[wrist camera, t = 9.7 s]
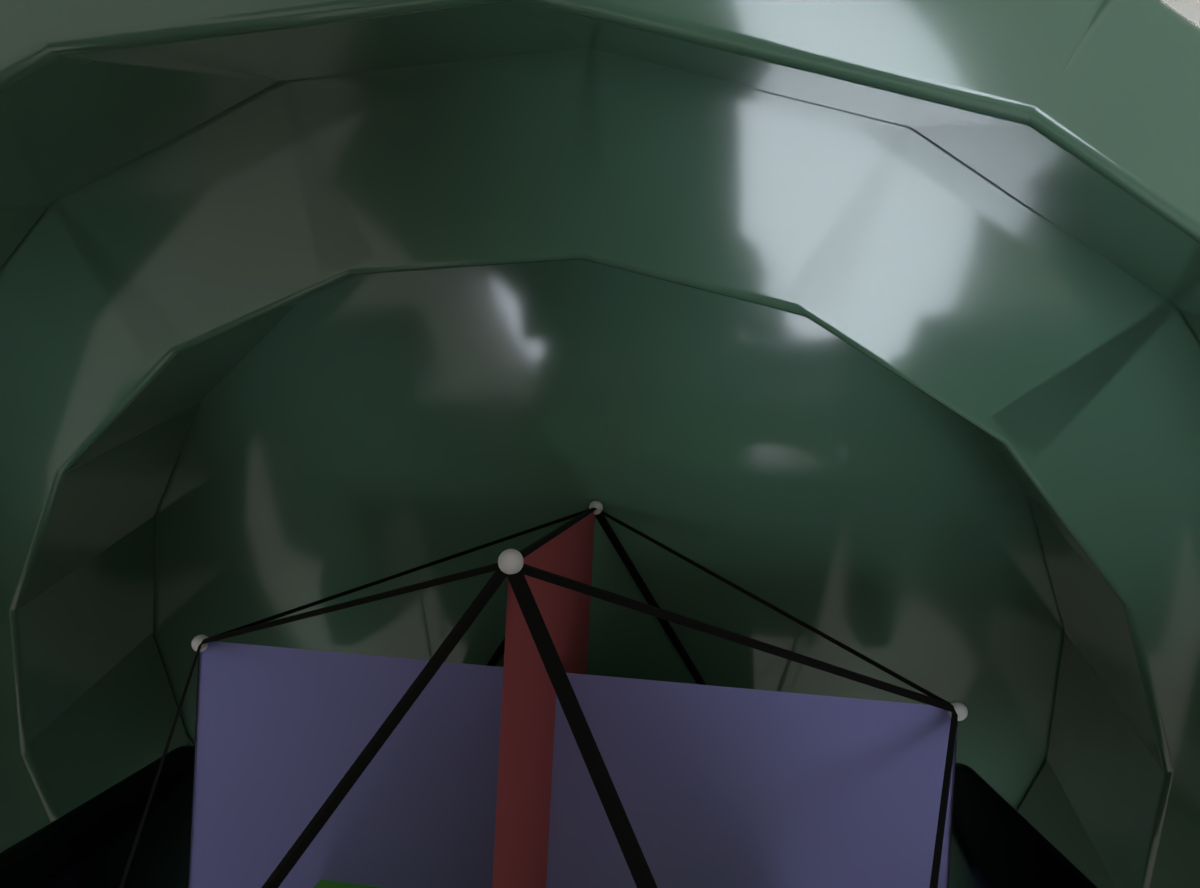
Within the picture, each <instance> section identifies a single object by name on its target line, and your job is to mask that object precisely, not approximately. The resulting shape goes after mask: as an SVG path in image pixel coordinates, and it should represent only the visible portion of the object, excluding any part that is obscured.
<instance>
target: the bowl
mask: <svg viewBox="0 0 1200 888" xmlns="http://www.w3.org/2000/svg"><path fill="white" fill-rule="evenodd" d="M592 501H599V502H601V503H602V505H603V510H602V511H604V512H606V513H608V514H609V515H611V516H613V517H615V518H617V519H619V520H620V521H622V522H624V523H626V524H628V525H629V526H631V527H633V528H635V529H637V530H638V531H640V532H642V533H644V534H646V535H647V536H649V537H651V538H653V539H655V540H657V541H658V542H660V543H662V544H664V545H666V546H667V547H669V548H671V549H673V550H675V551H676V552H678V553H680V554H682V555H684V556H685V557H687V558H689V559H691V560H693V561H694V562H696V563H698V564H700V565H702V566H704V567H705V568H707V569H709V570H711V571H713V572H714V573H716V574H718V575H720V576H722V577H723V578H725V579H727V580H729V581H731V582H732V583H734V584H736V585H738V586H740V587H742V588H743V589H745V590H747V591H749V592H751V593H752V594H754V595H756V596H758V597H760V598H761V599H763V600H765V601H767V602H769V603H770V604H772V605H774V606H776V607H778V608H779V609H781V610H783V611H785V612H787V613H789V614H790V615H792V616H794V617H796V618H798V619H799V620H801V621H803V622H805V623H807V624H808V625H810V626H812V627H814V628H816V629H817V630H819V631H821V632H823V633H825V634H827V635H828V636H830V637H832V638H834V639H836V640H837V641H839V642H841V643H843V644H845V645H846V646H848V647H850V648H852V649H854V650H855V651H857V652H859V653H861V654H863V655H864V656H866V657H868V658H870V659H872V660H874V661H875V662H877V663H879V664H881V665H883V666H884V667H886V668H888V669H890V670H892V671H893V672H895V673H897V674H899V675H901V676H902V677H904V678H906V679H908V680H910V681H912V682H913V683H915V684H917V685H919V686H921V687H922V688H924V689H926V690H928V691H930V692H931V693H933V694H935V695H937V696H939V697H940V698H942V699H944V700H946V701H948V702H949V703H951V702H953V701H959V702H962V703H963V704H964V705H965V706H966V707H967V710H968V714H967V717H966V718H965V719H964V720H962V721H958V728H957V746H956V763H962V764H965V765H967V766H969V767H971V768H972V769H973V770H974V771H975V772H976V773H977V774H978V775H980V776H981V777H982V778H983V779H984V780H985V781H986V782H987V783H988V784H989V785H990V786H991V787H992V788H993V789H994V790H995V791H996V792H997V793H998V794H1000V795H1001V796H1002V797H1003V798H1004V799H1005V800H1006V801H1007V802H1008V803H1009V804H1010V805H1011V806H1012V807H1013V808H1014V809H1015V810H1016V811H1017V812H1019V813H1020V814H1021V815H1022V816H1023V817H1024V818H1025V819H1026V820H1027V821H1028V822H1029V823H1030V824H1031V825H1032V826H1033V827H1034V828H1035V829H1036V830H1037V831H1039V832H1040V833H1041V834H1042V835H1043V836H1044V837H1045V838H1046V839H1047V840H1048V841H1049V842H1050V843H1051V844H1052V845H1053V846H1054V847H1055V848H1056V849H1058V850H1059V851H1060V852H1061V853H1062V854H1063V855H1064V856H1065V857H1066V858H1067V859H1068V860H1069V861H1070V862H1071V863H1072V864H1073V865H1074V866H1075V867H1076V868H1078V869H1079V870H1080V871H1081V872H1082V873H1083V874H1084V875H1085V876H1086V877H1087V878H1088V879H1089V880H1090V881H1091V882H1092V883H1093V884H1094V885H1095V886H1097V887H1098V888H1200V28H1199V27H1198V26H1196V25H1195V24H1193V23H1192V22H1191V21H1189V20H1188V19H1187V18H1185V17H1184V16H1182V15H1181V14H1180V13H1178V12H1177V11H1175V10H1174V9H1173V8H1171V7H1170V6H1168V5H1167V4H1166V3H1164V2H1163V1H1162V0H0V853H1V852H3V851H5V850H6V849H8V848H10V847H11V846H13V845H15V844H16V843H18V842H20V841H21V840H23V839H25V838H26V837H28V836H30V835H31V834H33V833H35V832H36V831H38V830H40V829H42V828H43V827H45V826H47V825H48V824H50V823H52V822H53V821H55V820H57V819H58V818H60V817H62V816H63V815H65V814H67V813H68V812H70V811H72V810H73V809H75V808H77V807H78V806H80V805H82V804H83V803H85V802H87V801H88V800H90V799H92V798H93V797H95V796H97V795H98V794H100V793H102V792H103V791H105V790H107V789H108V788H110V787H112V786H114V785H115V784H117V783H119V782H120V781H122V780H124V779H125V778H127V777H129V776H130V775H132V774H134V773H135V772H137V771H139V770H140V769H142V768H144V767H145V766H147V765H149V764H150V763H152V762H154V761H155V760H157V759H159V758H160V757H162V755H163V752H164V749H165V746H166V743H167V740H168V737H169V734H170V731H171V728H172V725H173V722H174V719H175V716H176V713H177V710H178V707H179V704H180V701H181V698H182V695H183V691H184V688H185V685H186V682H187V679H188V676H189V673H190V670H191V667H192V664H193V661H194V658H195V655H196V651H194V650H193V648H192V646H191V643H192V640H193V639H194V638H195V637H196V636H198V635H206V636H207V637H211V636H214V635H217V634H220V633H223V632H226V631H229V630H232V629H235V628H238V627H241V626H244V625H247V624H250V623H253V622H255V621H258V620H261V619H264V618H267V617H270V616H273V615H276V614H279V613H282V612H285V611H288V610H291V609H294V608H297V607H300V606H303V605H306V604H309V603H312V602H315V601H318V600H321V599H324V598H326V597H329V596H332V595H335V594H338V593H341V592H344V591H347V590H350V589H353V588H356V587H359V586H362V585H365V584H368V583H371V582H374V581H377V580H380V579H383V578H386V577H389V576H392V575H395V574H397V573H400V572H403V571H406V570H409V569H412V568H415V567H418V566H421V565H424V564H427V563H430V562H433V561H436V560H439V559H442V558H445V557H448V556H451V555H454V554H457V553H460V552H463V551H466V550H468V549H471V548H474V547H477V546H480V545H483V544H486V543H489V542H492V541H495V540H498V539H501V538H504V537H507V536H510V535H513V534H516V533H519V532H522V531H525V530H528V529H531V528H534V527H537V526H539V525H542V524H545V523H548V522H551V521H554V520H557V519H560V518H563V517H566V516H569V515H572V514H575V513H578V512H581V511H584V510H587V509H589V505H590V503H591V502H592ZM574 518H575V517H574ZM605 518H606V519H607V521H608V523H609V524H610V526H611V528H612V529H613V531H614V533H615V534H616V536H617V538H618V539H619V541H620V543H621V544H622V546H623V548H624V549H625V551H626V553H627V554H628V556H629V558H630V559H631V561H632V563H633V564H634V566H635V568H636V569H637V571H638V572H639V574H640V576H641V577H642V579H643V581H644V582H645V584H646V586H647V587H648V589H649V591H650V592H651V594H652V596H653V597H654V599H655V601H656V602H657V604H658V606H659V607H660V608H661V609H664V610H667V611H670V612H673V613H676V614H679V615H682V616H685V617H688V618H691V619H694V620H697V621H700V622H703V623H706V624H709V625H713V626H716V627H719V628H722V629H725V630H728V631H731V632H734V633H737V634H740V635H743V636H746V637H749V638H752V639H755V640H758V641H761V642H764V643H767V644H770V645H774V646H777V647H780V648H783V649H786V650H789V651H792V652H795V653H798V654H801V655H804V656H807V657H810V658H813V659H816V660H819V661H822V662H825V663H828V664H831V665H834V666H838V667H841V668H844V669H847V670H850V671H853V672H856V673H859V674H862V675H865V676H868V677H871V678H874V679H877V680H880V681H883V682H886V683H889V684H892V685H895V686H899V687H902V688H905V689H908V690H911V691H914V692H917V693H920V694H923V695H926V694H924V693H922V692H920V691H918V690H917V689H915V688H913V687H911V686H909V685H908V684H906V683H904V682H902V681H901V680H899V679H897V678H895V677H893V676H892V675H890V674H888V673H886V672H884V671H883V670H881V669H879V668H877V667H875V666H874V665H872V664H870V663H868V662H866V661H865V660H863V659H861V658H859V657H857V656H856V655H854V654H852V653H850V652H848V651H847V650H845V649H843V648H841V647H839V646H838V645H836V644H834V643H832V642H830V641H829V640H827V639H825V638H823V637H821V636H820V635H818V634H816V633H814V632H813V631H811V630H809V629H807V628H805V627H804V626H802V625H800V624H798V623H796V622H795V621H793V620H791V619H789V618H787V617H786V616H784V615H782V614H780V613H778V612H777V611H775V610H773V609H771V608H769V607H768V606H766V605H764V604H762V603H760V602H759V601H757V600H755V599H753V598H751V597H750V596H748V595H746V594H744V593H742V592H741V591H739V590H737V589H735V588H734V587H732V586H730V585H728V584H726V583H725V582H723V581H721V580H719V579H717V578H716V577H714V576H712V575H710V574H708V573H707V572H705V571H703V570H701V569H699V568H698V567H696V566H694V565H692V564H690V563H689V562H687V561H685V560H683V559H681V558H680V557H678V556H676V555H674V554H672V553H671V552H669V551H667V550H665V549H663V548H662V547H660V546H658V545H656V544H655V543H653V542H651V541H649V540H647V539H646V538H644V537H642V536H640V535H638V534H637V533H635V532H633V531H631V530H629V529H628V528H626V527H624V526H622V525H620V524H619V523H617V522H615V521H613V520H611V519H610V518H608V517H606V516H605ZM572 519H573V518H571V519H568V520H565V521H562V522H559V523H556V524H553V525H550V526H547V527H544V528H541V529H538V530H536V531H533V532H530V533H527V534H524V535H521V536H518V537H515V538H512V539H509V540H506V541H503V542H500V543H497V544H494V545H491V546H488V547H486V548H483V549H480V550H477V551H474V552H471V553H468V554H465V555H462V556H459V557H456V558H453V559H450V560H447V561H444V562H441V563H438V564H436V565H433V566H430V567H427V568H424V569H421V570H418V571H415V572H412V573H409V574H406V575H403V576H400V577H397V578H394V579H391V580H388V581H386V582H383V583H380V584H377V585H374V586H371V587H368V588H365V589H362V590H359V591H356V592H353V593H350V594H347V595H344V596H341V597H338V598H336V599H333V600H330V601H327V602H324V603H321V604H318V605H315V606H312V607H309V608H306V609H303V610H300V611H297V612H294V613H291V614H288V615H286V616H283V617H280V618H277V619H281V618H285V617H289V616H293V615H297V614H301V613H304V612H308V611H312V610H316V609H320V608H324V607H328V606H332V605H335V604H339V603H343V602H347V601H351V600H355V599H359V598H362V597H366V596H370V595H374V594H378V593H382V592H386V591H389V590H393V589H397V588H401V587H405V586H409V585H413V584H417V583H420V582H424V581H428V580H432V579H436V578H440V577H444V576H447V575H451V574H455V573H459V572H463V571H467V570H471V569H474V568H478V567H482V566H486V565H490V564H494V563H498V558H499V556H500V554H501V553H502V552H503V551H505V550H507V549H515V550H517V551H521V550H522V549H524V548H526V547H527V546H529V545H531V544H532V543H534V542H536V541H537V540H539V539H541V538H542V537H544V536H545V535H547V534H549V533H550V532H552V531H554V530H555V529H557V528H559V527H560V526H562V525H563V524H565V523H567V522H568V521H570V520H572ZM494 572H495V571H493V572H489V573H485V574H481V575H477V576H473V577H469V578H465V579H461V580H457V581H453V582H449V583H445V584H441V585H437V586H433V587H429V588H425V589H421V590H417V591H413V592H409V593H405V594H401V595H397V596H393V597H389V598H385V599H381V600H377V601H373V602H369V603H365V604H361V605H357V606H353V607H349V608H345V609H341V610H337V611H333V612H329V613H325V614H321V615H317V616H313V617H309V618H305V619H301V620H297V621H293V622H289V623H285V624H281V625H277V626H273V627H269V628H265V629H261V630H257V631H253V632H249V633H245V634H241V635H237V636H233V637H229V638H225V639H221V640H217V641H218V642H227V643H238V644H250V645H261V646H272V647H283V648H295V649H306V650H317V651H328V652H340V653H351V654H362V655H373V656H385V657H396V658H407V659H418V660H430V659H431V658H432V656H433V655H434V654H435V652H436V651H437V650H438V648H439V647H440V645H441V644H442V643H443V641H444V640H445V639H446V637H447V636H448V635H449V633H450V632H451V631H452V629H453V628H454V627H455V625H456V624H457V623H458V621H459V620H460V618H461V617H462V616H463V614H464V613H465V612H466V610H467V609H468V608H469V606H470V605H471V604H472V602H473V601H474V600H475V598H476V597H477V595H478V594H479V593H480V591H481V590H482V589H483V587H484V586H485V585H486V583H487V582H488V581H489V579H490V578H491V577H492V575H493V574H494ZM591 586H594V587H597V588H600V589H603V590H606V591H609V592H612V593H615V594H618V595H621V596H624V597H627V598H630V599H633V600H636V601H639V602H642V603H645V604H648V603H647V601H646V599H645V598H644V596H643V594H642V593H641V591H640V589H639V588H638V586H637V584H636V583H635V581H634V580H633V578H632V576H631V575H630V573H629V571H628V570H627V568H626V566H625V565H624V563H623V561H622V560H621V558H620V556H619V555H618V553H617V552H616V550H615V548H614V547H613V545H612V543H611V542H610V540H609V538H608V537H607V535H606V533H605V532H604V530H603V528H602V527H601V525H600V524H599V522H598V520H597V519H596V517H595V521H594V541H593V560H592V579H591ZM507 591H508V578H507V577H506V578H505V580H504V581H503V582H502V584H501V585H500V586H499V588H498V589H497V591H496V592H495V593H494V595H493V596H492V597H491V599H490V600H489V601H488V603H487V604H486V606H485V607H484V608H483V610H482V611H481V612H480V614H479V615H478V616H477V618H476V619H475V620H474V622H473V623H472V625H471V626H470V627H469V629H468V630H467V631H466V633H465V634H464V635H463V637H462V638H461V640H460V641H459V642H458V644H457V645H456V646H455V648H454V649H453V650H452V652H451V653H450V655H449V656H448V657H447V659H446V660H445V661H444V662H452V663H463V664H474V665H487V664H488V662H489V661H490V659H491V658H492V656H493V655H494V653H495V651H496V650H497V648H498V647H499V645H500V644H501V642H502V641H503V639H504V638H505V630H506V611H507ZM277 619H274V620H277ZM274 620H271V621H274ZM268 622H270V621H268ZM668 622H669V624H670V625H671V627H672V629H673V630H674V632H675V634H676V635H677V637H678V639H679V640H680V642H681V644H682V645H683V647H684V649H685V650H686V652H687V654H688V655H689V657H690V659H691V660H692V662H693V664H694V665H695V667H696V669H697V670H698V672H699V673H700V675H701V677H702V678H703V680H704V682H705V683H706V685H711V686H722V687H733V688H744V689H755V690H767V691H778V692H789V693H800V694H812V695H823V696H834V697H845V698H857V699H868V700H879V701H890V702H902V703H913V704H924V705H928V704H925V703H922V702H919V701H915V700H912V699H909V698H906V697H903V696H900V695H897V694H894V693H891V692H888V691H884V690H881V689H878V688H875V687H872V686H869V685H866V684H863V683H860V682H856V681H853V680H850V679H847V678H844V677H841V676H838V675H835V674H832V673H828V672H825V671H822V670H819V669H816V668H813V667H810V666H807V665H804V664H801V663H797V662H794V661H791V660H788V659H785V658H782V657H779V656H776V655H773V654H769V653H766V652H763V651H760V650H757V649H754V648H751V647H748V646H745V645H741V644H738V643H735V642H732V641H729V640H726V639H723V638H720V637H717V636H714V635H710V634H707V633H704V632H701V631H698V630H695V629H692V628H689V627H686V626H682V625H679V624H676V623H673V622H670V621H668ZM265 623H266V622H265ZM198 660H199V655H198V658H197V661H196V664H195V667H194V670H193V673H192V676H191V680H190V683H189V686H188V689H187V692H186V695H185V698H184V701H183V704H182V707H181V710H180V713H179V717H178V720H177V723H176V726H175V729H174V732H173V735H172V738H171V741H170V744H169V747H168V750H167V753H169V752H170V751H172V750H174V749H176V748H178V747H180V746H185V745H194V743H195V722H196V701H197V680H198ZM496 666H497V667H504V654H503V656H502V657H501V659H500V660H499V662H498V663H497V665H496ZM587 675H598V676H609V677H621V678H632V679H643V680H654V681H666V682H677V683H688V684H697V683H696V682H695V680H694V678H693V677H692V675H691V673H690V672H689V670H688V668H687V667H686V665H685V663H684V662H683V660H682V659H681V657H680V655H679V654H678V652H677V650H676V649H675V647H674V645H673V644H672V642H671V640H670V639H669V637H668V635H667V634H666V632H665V631H664V629H663V627H662V626H661V624H660V622H659V621H658V619H657V617H654V616H651V615H648V614H645V613H642V612H639V611H636V610H633V609H630V608H627V607H623V606H620V605H617V604H614V603H611V602H608V601H605V600H602V599H599V598H595V597H592V596H591V598H590V617H589V636H588V655H587ZM926 696H927V695H926ZM167 753H166V754H167Z"/></svg>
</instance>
